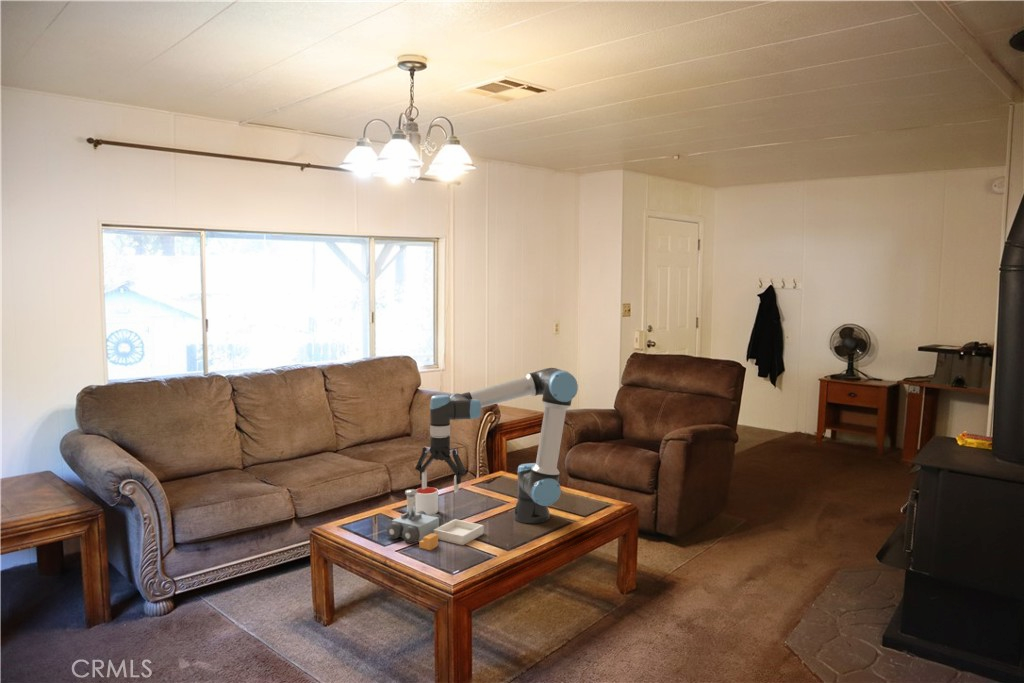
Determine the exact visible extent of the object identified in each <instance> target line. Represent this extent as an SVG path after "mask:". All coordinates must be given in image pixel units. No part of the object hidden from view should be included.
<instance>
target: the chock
mask: <svg viewBox="0 0 1024 683" xmlns="http://www.w3.org/2000/svg"><path fill="white" fill-rule="evenodd" d="M418 543H419V544H418V547H419V548H420V549H424V550H427V551H432V550H433V549H435V548H437V547H438V546H439V539H438V534H433V533H431V534H429V535H427V536H425V537H423V540H421V541H419V542H418Z"/></svg>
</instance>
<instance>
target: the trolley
mask: <svg viewBox="0 0 1024 683" xmlns="http://www.w3.org/2000/svg"><path fill="white" fill-rule="evenodd" d="M411 518H412V520H409V519H407V512H405V513H403V514H401V516H398V517H396V518H394V519H392V520H391V523H390V524H388V525H387V526H386V534H387V536H388V538H389V539H391V540H396V539H398V538H402V539H403V540H404V542H405V543H407V544H412V543H414V542H418V543H419V541H421V540H423V537H425V536H427V535H429V534H431V533H433V534H434V529H436V528H438V527H440V526H442V525H444V524H445V523H444V522H445V521H444V519H443V517H442V515H440V514H437V513H436V514H434V515H431V516H429V515H427V514H426V513H425V512H424V511H419V512H416V515H415V516H413V517H411Z"/></svg>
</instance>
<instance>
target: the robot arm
mask: <svg viewBox="0 0 1024 683" xmlns="http://www.w3.org/2000/svg"><path fill="white" fill-rule="evenodd" d="M578 388H579V384H578V381H577V379H576V378H575V376H574V374H572V373H570V372H569V371H566V370H563V369H559V368H557V367H549V368H544V369H540V370H536V371H534V372H529V373H527V374H526V375H525V376H524V377H521V378H517V379H513V380H509V381H506V382H501V383H498V384H494V385H489V386H487V387H482V388H479V389H475V390H471V391H467V392H463V393H458V392H457V393H453V394H451V395H448V394H435V395H432V396H431V398H430V403H429V412H430V414H429V418H430V422H429V423H430V424H429V425H430V426H429V427H430V428H429V430H430V431H429V432H430V433H429V434H430V438H429V439H430V441H429V442H430V443H429V444H430V445H429V446H430V447H429V446H428V445H426V446H424V447H423V448H422V450H421V451H422V453H421V455H420V457H419V459H418V461H417V464H416V465H415V468H414V470H415V471H418V472H419V480H420V481H421V488H422V489H425V488H427V487H428V473H427V472H428V471H427V470H426V469H427V468H428V467H429V466H430V465H431V463H432V462H433V461H434V460H435V461H444V462H445V463H447V464H448V467H449V468H450V469H451V471H452V472H453V474H455V475H453V476H454V477H453V493H454V494H457V493H459V490H460V488H459V487H460V486H459V485H460V484H461V482H462V476H463V475H465V474H466V472H467V471H466V469H465V467H464V465H463V462H462V460H461V458H460V456H459V450H458V448H455V449H451V436H450V435H451V421H455V420H456V421H457V420H475V419H476V420H477V419H479V418H480V417H481V416H482V408H484V407H488V406H493V405H495V404H501V403H504V402H508V401H511V400H516V399H519V398H523V397H526V396H532V397H536V396H542V400H541V401H542V403H543V404H544V410H543V417H542V422H541V428H540V436H539V441H538V447H537V453H536V454H537V455H536V460H535V462H532V463H531V462H529V463H521V464H519V465H518V467H517V502H516V504H515V507H514V511H513V519H514V520H515V521H517V522H520V523H524V524H540V523H545V522H548V520H550V509H549V506H551V505H553V504H555V503H556V502H557V501H558V500H559V499H560V496H561V493H562V489H561V488H562V487H561V484H560V483H559V481H560V480H559V479H560V473H561V472H560V471H559V469H558V462H559V456H560V450H561V449H560V448H561V443H562V437H563V432H564V431H563V430H564V425H565V419H566V413H567V409H569V408H570V407H571V406H572V400H574V398H575V397H576V395H577V394H578V391H579V390H578ZM428 453H430V454H431V455H430V456H429V457H428V459H427V460H426V461H425V459H426V458H427V455H428ZM451 456H452V457H451ZM452 458H453V459H452Z"/></svg>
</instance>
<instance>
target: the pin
mask: <svg viewBox="0 0 1024 683" xmlns="http://www.w3.org/2000/svg"><path fill="white" fill-rule="evenodd" d="M404 494H405V495H406V513H407V519H409V520H412V518H411V517H413V516H415V515H416V494H417V490H416V489H414V488H412V489H410V488H409V489H406V490H405V491H404Z"/></svg>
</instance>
